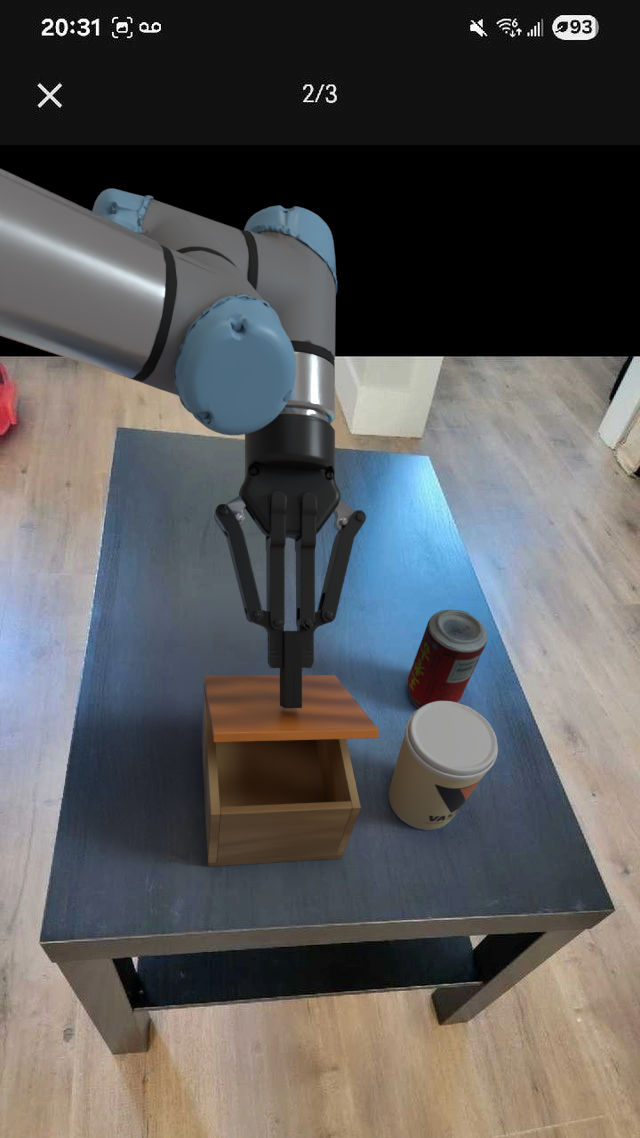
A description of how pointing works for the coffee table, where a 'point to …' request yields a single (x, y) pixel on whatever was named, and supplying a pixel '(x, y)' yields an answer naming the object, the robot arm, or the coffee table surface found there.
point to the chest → (276, 799)
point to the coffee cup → (440, 763)
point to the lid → (283, 710)
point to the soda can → (446, 657)
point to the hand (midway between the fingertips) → (290, 706)
